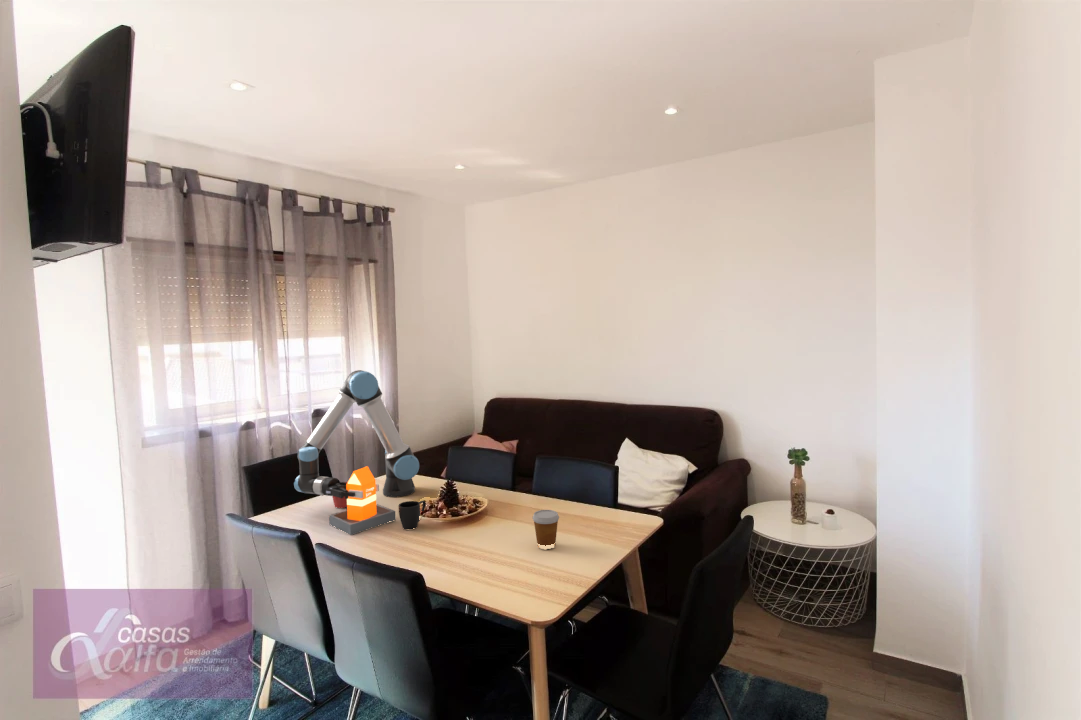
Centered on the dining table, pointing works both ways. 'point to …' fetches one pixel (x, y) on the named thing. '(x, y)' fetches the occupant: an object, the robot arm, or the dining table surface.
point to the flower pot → (340, 502)
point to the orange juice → (367, 504)
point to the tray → (355, 526)
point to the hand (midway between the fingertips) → (370, 491)
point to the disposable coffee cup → (545, 526)
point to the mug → (410, 513)
